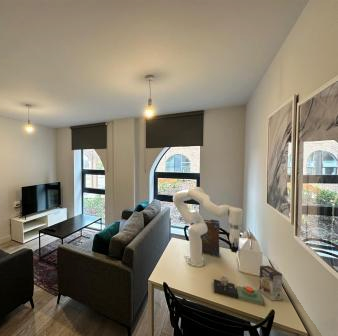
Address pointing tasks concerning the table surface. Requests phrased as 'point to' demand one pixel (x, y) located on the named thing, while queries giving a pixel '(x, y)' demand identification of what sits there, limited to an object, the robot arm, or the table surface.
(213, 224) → the decorative book
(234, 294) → the control panel
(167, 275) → the table surface
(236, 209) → the robot arm
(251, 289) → the button
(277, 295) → the coffee box
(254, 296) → the button housing
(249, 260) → the gable box
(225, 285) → the dial
